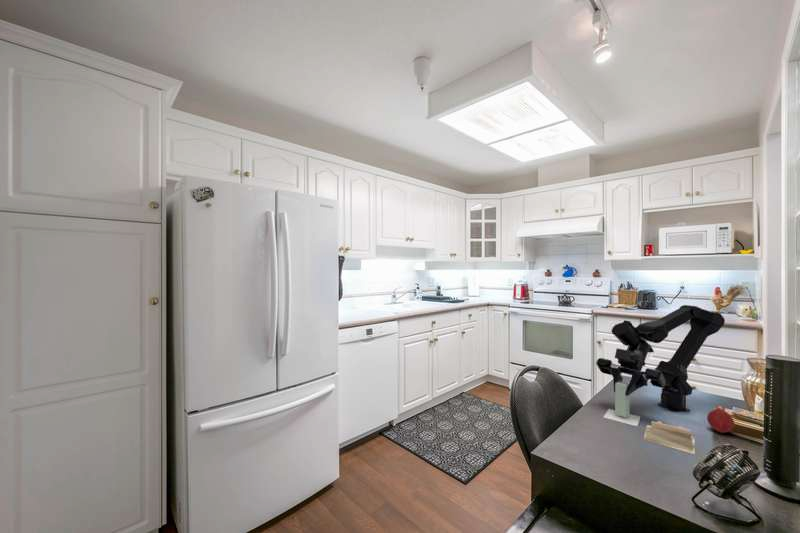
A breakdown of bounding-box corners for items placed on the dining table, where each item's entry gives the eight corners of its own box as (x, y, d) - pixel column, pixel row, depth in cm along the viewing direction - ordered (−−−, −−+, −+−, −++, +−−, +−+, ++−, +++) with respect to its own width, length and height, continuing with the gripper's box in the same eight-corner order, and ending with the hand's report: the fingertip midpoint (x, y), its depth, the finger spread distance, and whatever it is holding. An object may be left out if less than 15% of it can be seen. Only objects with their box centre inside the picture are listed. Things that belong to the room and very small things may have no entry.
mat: (608, 410, 115) (608, 408, 115) (640, 418, 109) (640, 416, 109) (603, 419, 108) (603, 417, 108) (637, 428, 102) (637, 426, 102)
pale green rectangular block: (619, 411, 111) (619, 381, 111) (629, 415, 108) (629, 384, 108) (615, 413, 109) (615, 383, 109) (625, 417, 107) (625, 385, 107)
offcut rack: (647, 426, 104) (647, 410, 104) (694, 438, 96) (694, 422, 96) (643, 441, 94) (643, 424, 95) (694, 456, 87) (695, 437, 87)
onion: (739, 439, 96) (739, 411, 96) (716, 437, 98) (716, 409, 98) (724, 429, 102) (724, 403, 102) (702, 427, 103) (702, 401, 103)
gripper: (598, 335, 119) (582, 371, 113) (662, 345, 103) (647, 387, 97) (609, 354, 123) (593, 389, 117) (671, 367, 108) (657, 409, 101)
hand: (620, 393), depth 108 cm, fingers closed on pale green rectangular block, 3 cm apart
